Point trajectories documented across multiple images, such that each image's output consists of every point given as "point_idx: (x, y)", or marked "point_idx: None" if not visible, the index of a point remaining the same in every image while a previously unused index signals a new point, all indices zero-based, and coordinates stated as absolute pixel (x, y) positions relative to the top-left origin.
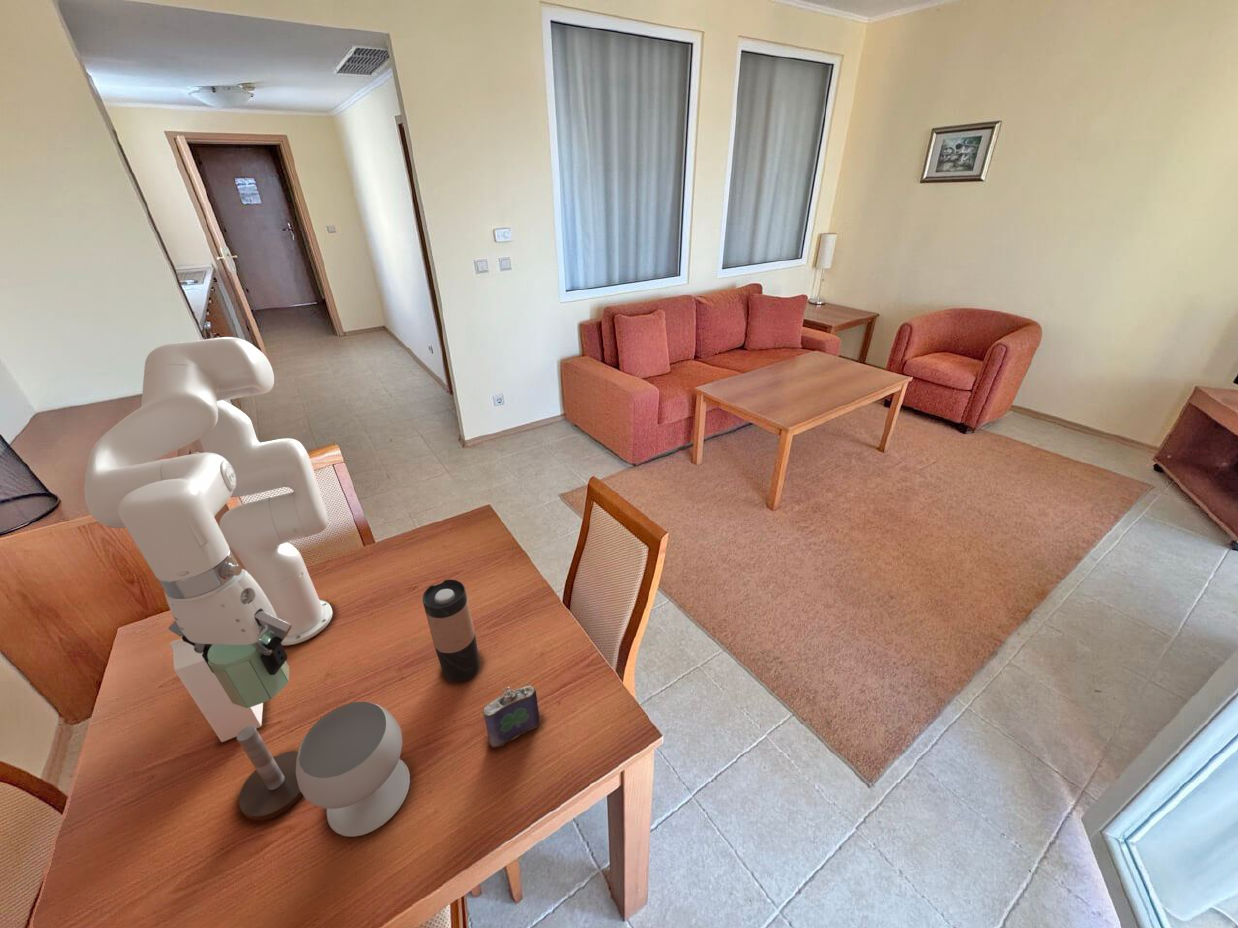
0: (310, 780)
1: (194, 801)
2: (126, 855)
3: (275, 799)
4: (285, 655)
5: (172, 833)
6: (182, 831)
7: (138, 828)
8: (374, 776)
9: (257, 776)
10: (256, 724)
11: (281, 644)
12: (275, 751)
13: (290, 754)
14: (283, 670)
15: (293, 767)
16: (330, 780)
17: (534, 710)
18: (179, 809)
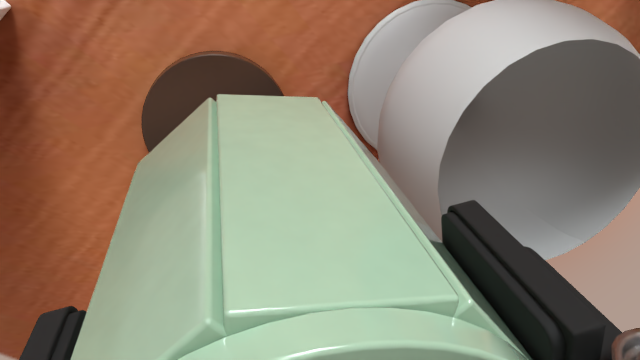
0: None
1: (63, 195)
2: (49, 290)
3: None
4: (538, 258)
5: (91, 245)
6: (107, 237)
7: (10, 260)
8: (605, 178)
9: (163, 130)
10: (1, 14)
11: (553, 276)
12: (131, 58)
13: (194, 66)
14: (406, 197)
15: (230, 91)
16: (560, 251)
17: None
18: (50, 215)
